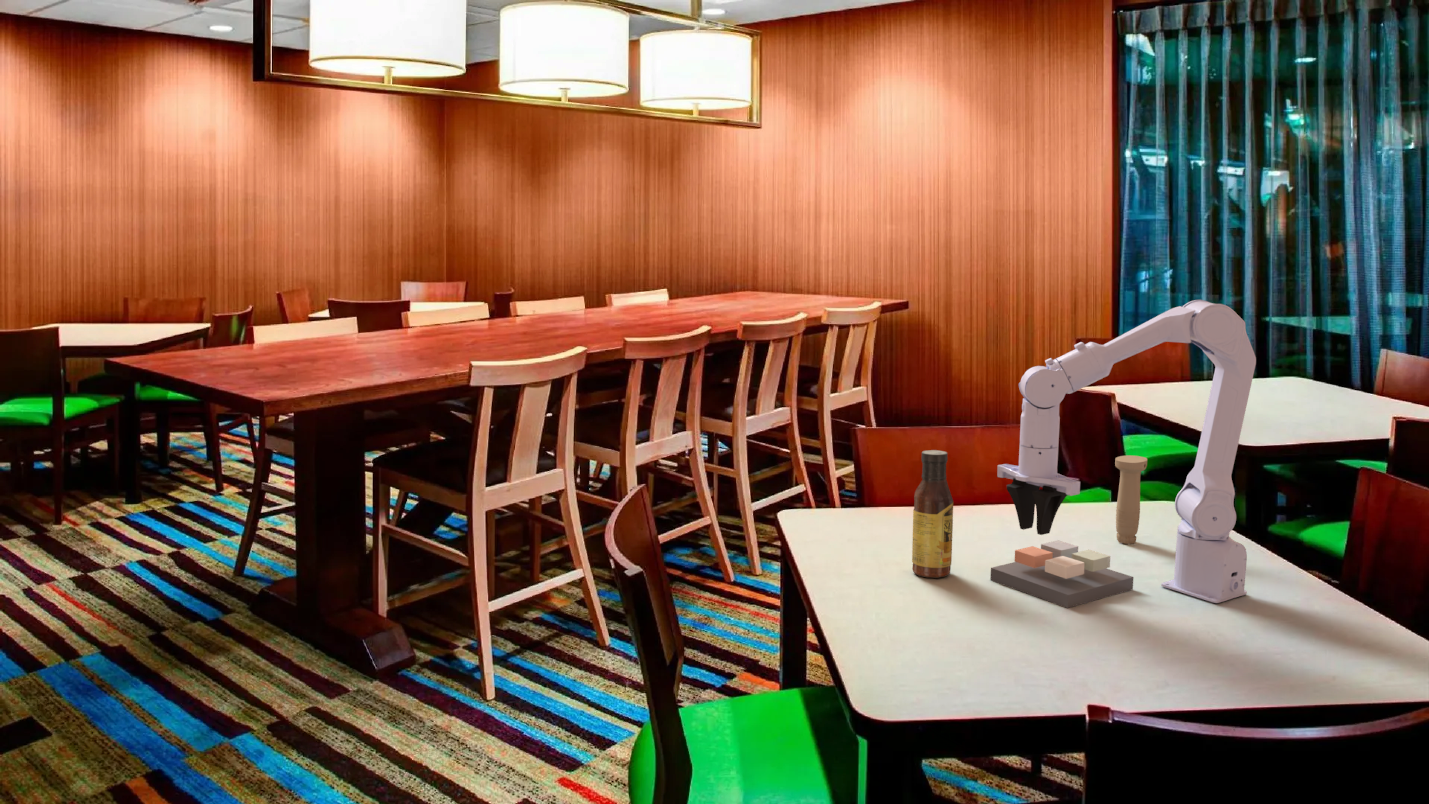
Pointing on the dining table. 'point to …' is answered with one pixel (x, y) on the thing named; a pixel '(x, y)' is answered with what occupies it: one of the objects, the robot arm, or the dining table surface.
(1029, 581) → the keypad base
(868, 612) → the dining table surface
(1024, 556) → the key terracotta
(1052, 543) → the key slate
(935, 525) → the sauce bottle
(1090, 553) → the key sage
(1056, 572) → the key cream
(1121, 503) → the handle
